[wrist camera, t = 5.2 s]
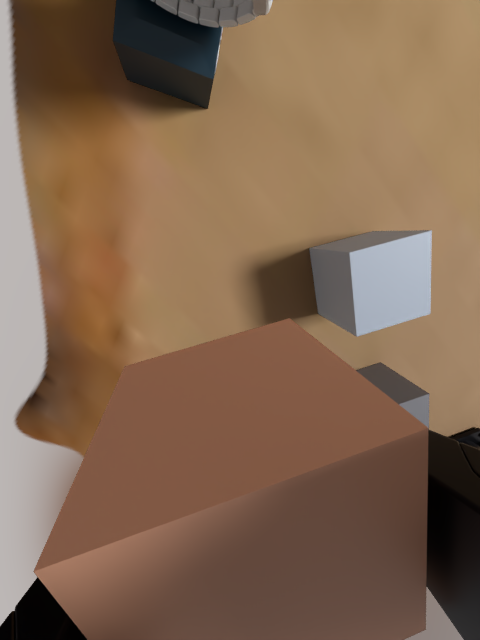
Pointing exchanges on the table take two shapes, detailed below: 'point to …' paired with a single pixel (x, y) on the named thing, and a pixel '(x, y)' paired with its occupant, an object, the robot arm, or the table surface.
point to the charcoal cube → (399, 390)
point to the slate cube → (373, 279)
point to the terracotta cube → (246, 501)
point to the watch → (177, 41)
